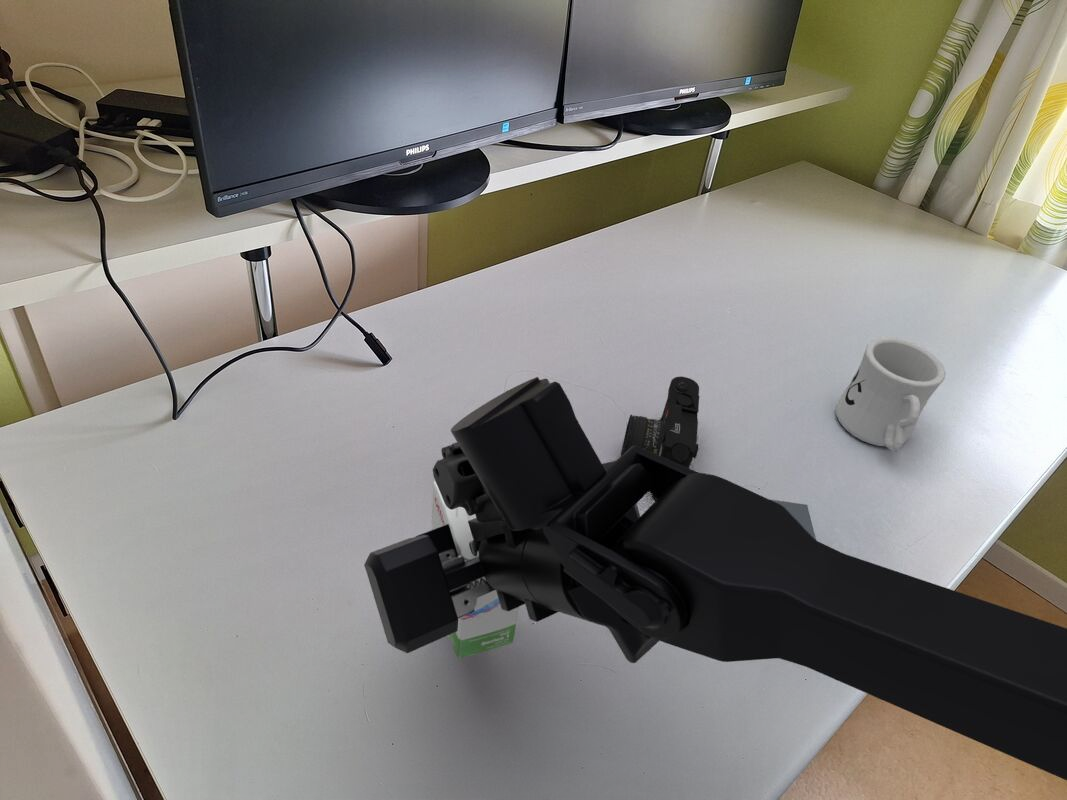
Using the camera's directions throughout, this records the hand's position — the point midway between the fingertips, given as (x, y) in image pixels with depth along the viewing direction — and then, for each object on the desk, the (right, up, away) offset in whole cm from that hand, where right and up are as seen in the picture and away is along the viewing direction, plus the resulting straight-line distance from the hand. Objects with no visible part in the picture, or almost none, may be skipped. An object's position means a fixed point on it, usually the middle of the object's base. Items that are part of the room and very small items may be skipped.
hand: (468, 543), depth 57 cm
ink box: (0, -6, +4) cm, 7 cm away
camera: (+18, +4, +27) cm, 33 cm away
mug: (+46, +7, +35) cm, 58 cm away
